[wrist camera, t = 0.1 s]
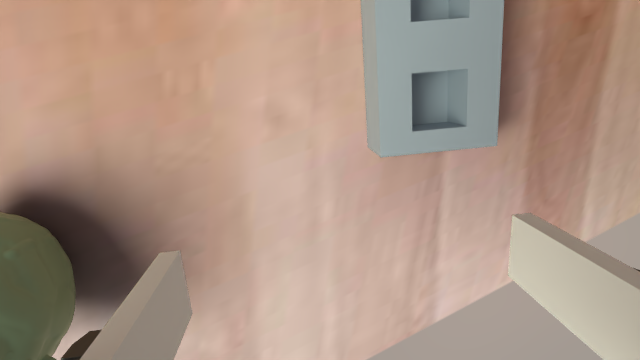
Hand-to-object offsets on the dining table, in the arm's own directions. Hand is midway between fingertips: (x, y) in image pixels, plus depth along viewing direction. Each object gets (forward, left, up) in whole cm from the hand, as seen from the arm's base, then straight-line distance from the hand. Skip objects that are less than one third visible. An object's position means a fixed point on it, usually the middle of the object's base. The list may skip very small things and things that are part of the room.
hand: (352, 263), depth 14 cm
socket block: (-9, +13, -28) cm, 32 cm away
